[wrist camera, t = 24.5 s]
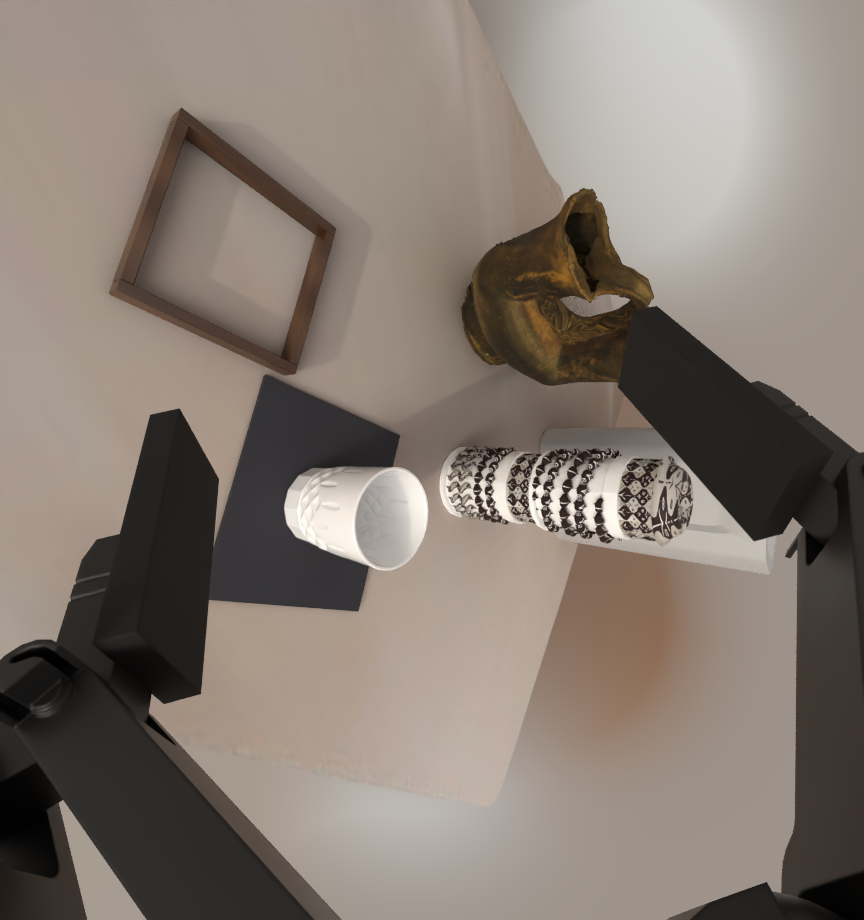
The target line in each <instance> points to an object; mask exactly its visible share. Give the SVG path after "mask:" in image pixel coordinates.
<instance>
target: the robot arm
mask: <svg viewBox="0 0 864 920" xmlns="http://www.w3.org/2000/svg"><path fill="white" fill-rule="evenodd" d="M618 388H619V389H620V390H621V391H622V392H623V393H624V395H625V396H626V397H627V398H628V399H629V400H630V401H631V402H632V403H633V405H634V406H635V407H636V408H637V409H638V410H639V411H640V413H641V414H642V415H643V416H644V417H645V418H646V420H647V421H648V422H649V423H650V424H651V425H652V426H653V427H654V429H655V430H656V431H657V432H658V433H659V434H660V435H661V437H662V438H663V439H664V440H665V441H666V442H667V443H668V445H669V446H670V447H671V448H672V449H673V450H674V451H675V452H676V454H677V455H678V456H679V457H680V458H681V459H682V460H683V462H684V463H685V464H686V465H687V466H688V467H689V468H690V470H691V471H692V472H693V473H694V474H695V475H696V476H697V477H698V479H699V480H700V481H701V482H702V483H703V484H704V485H705V487H706V488H707V489H708V490H709V491H710V492H711V493H712V495H713V496H714V497H715V498H716V499H717V500H718V501H719V502H720V504H721V505H722V506H723V507H724V508H725V509H726V510H727V512H728V513H729V514H730V515H731V516H732V517H733V518H734V519H735V521H736V522H737V523H738V524H739V525H740V526H741V527H742V529H743V530H744V531H745V532H746V533H747V534H748V535H749V537H750V538H751V539H752V540H753V541H758V540H762V539H765V538H769V537H773V536H776V535H780V534H783V532H784V530H785V529H786V527H787V525H788V524H789V522H790V521H791V519H792V518H794V519H795V520H796V521H797V522H798V523H799V524H800V525H801V526H802V527H803V528H802V529H801V531H800V532H799V534H798V535H797V537H796V538H795V540H794V541H793V543H792V544H791V546H790V547H789V549H788V550H787V553H786V556H785V557H788V558H791V557H792V555H793V554H794V552H795V551H796V550H798V556H797V557H798V559H797V661H796V667H797V668H796V768H795V769H796V770H795V771H796V772H795V824H794V830H793V834H792V836H791V839H790V841H789V843H788V846H787V848H786V851H785V855H784V860H783V868H782V889H781V890H782V891H781V893H777V892H772V891H771V889H770V887H769V885H768V884H767V882H766V883H763V884H760V885H757V886H755V887H752V888H749V889H746V890H743V891H740V892H738V893H735V894H732V895H729V896H727V897H724V898H721V899H718V900H715V901H712V902H710V903H707V904H704V905H702V906H699V907H696V908H694V909H691V910H689V911H686V912H683V913H681V914H678V915H676V916H673V917H670V918H669V919H667V920H864V452H863V453H859V452H857V451H855V449H853V448H852V447H851V446H849V445H848V444H847V443H845V442H844V441H843V440H842V439H840V438H839V437H838V436H837V435H835V434H834V433H833V432H832V431H830V430H829V429H828V428H827V427H825V426H824V425H822V424H821V423H820V422H819V421H818V420H816V419H815V418H814V417H813V416H809V415H808V412H806V411H805V410H803V408H801V407H800V406H796V405H795V402H794V401H792V400H791V399H790V398H789V397H787V396H786V395H785V394H783V393H782V392H781V391H780V390H777V389H775V388H773V387H771V386H768V385H766V384H764V383H762V382H759V381H756V382H752V383H750V382H749V381H747V380H746V379H745V378H744V377H742V376H741V375H740V374H739V373H738V372H736V371H735V370H734V369H733V368H732V367H730V366H729V365H728V364H727V363H725V362H724V361H723V360H722V359H721V358H719V357H718V356H717V355H715V354H714V353H713V352H712V351H711V350H709V349H708V348H707V347H706V346H705V345H703V344H702V343H701V342H700V341H699V340H697V339H696V338H695V337H694V336H692V335H691V334H690V333H689V332H688V331H686V330H685V329H684V328H683V327H682V326H680V325H679V324H678V323H677V322H675V321H674V320H673V319H672V318H671V317H669V316H668V315H667V314H666V313H664V312H663V311H662V310H661V309H660V308H658V307H657V306H655V307H650V308H645V309H641V310H636V311H633V313H632V318H631V323H630V328H629V333H628V338H627V343H626V348H625V353H624V358H623V363H622V368H621V373H620V378H619V383H618ZM218 484H219V478H218V477H217V475H216V473H215V471H214V469H213V468H212V466H211V464H210V462H209V460H208V459H207V457H206V455H205V453H204V451H203V450H202V448H201V446H200V444H199V442H198V441H197V439H196V437H195V435H194V433H193V432H192V430H191V428H190V426H189V424H188V423H187V421H186V419H185V417H184V416H183V414H182V412H181V410H180V409H175V410H171V411H166V412H161V413H157V414H152V415H150V418H149V422H148V426H147V430H146V434H145V438H144V441H143V445H142V449H141V453H140V457H139V461H138V465H137V469H136V473H135V477H134V481H133V485H132V489H131V492H130V496H129V500H128V504H127V508H126V512H125V516H124V520H123V524H122V528H121V532H120V534H118V535H114V536H110V537H106V538H102V539H97V540H96V541H95V543H94V544H93V546H92V547H91V548H90V550H89V551H88V552H87V554H86V555H85V556H84V558H83V559H82V561H81V564H80V567H79V571H78V574H77V577H76V580H75V581H76V584H75V585H74V587H73V590H72V593H71V597H70V598H71V601H70V602H69V603H68V606H67V609H66V613H65V616H64V619H63V622H62V626H61V629H60V632H59V635H58V639H57V642H54V641H53V640H35V641H32V642H29V643H26V644H23V645H21V646H19V647H18V648H16V649H15V650H13V651H11V652H10V653H8V654H7V655H5V656H4V657H3V658H2V659H1V660H0V920H87V917H86V913H85V909H84V905H83V901H82V897H81V893H80V888H79V884H78V880H77V876H76V873H75V868H74V864H73V860H72V856H71V852H70V848H69V844H68V839H67V835H66V832H65V827H64V823H63V819H62V815H61V811H60V807H59V802H60V801H62V800H64V802H65V803H66V804H67V806H68V807H69V809H70V810H71V811H72V813H73V814H74V816H75V817H76V819H77V820H78V822H79V823H80V824H81V826H82V827H83V829H84V830H85V831H86V833H87V835H88V836H89V837H90V839H91V840H92V842H93V843H94V845H95V846H96V848H97V849H98V850H99V852H100V853H101V855H102V856H103V857H104V859H105V860H106V862H107V863H108V865H109V866H110V867H111V869H112V870H113V872H114V873H115V875H116V876H117V878H118V879H119V880H120V882H121V883H122V885H123V886H124V888H125V889H126V891H127V892H128V893H129V895H130V896H131V898H132V899H133V901H134V902H135V903H136V905H137V906H138V908H139V909H140V911H141V912H142V914H143V915H144V916H145V918H146V919H147V920H341V919H340V917H339V916H338V915H337V914H336V913H335V912H334V911H333V910H332V909H331V908H330V907H329V906H328V904H327V903H326V902H325V901H324V900H323V899H322V898H321V897H320V896H319V895H318V894H317V893H316V892H315V891H314V889H313V888H312V887H311V886H310V885H309V884H308V883H307V882H306V881H305V880H304V879H303V877H302V876H301V875H300V874H299V873H298V872H297V871H296V870H295V869H294V868H293V867H292V866H291V865H290V863H289V862H288V861H287V860H286V859H285V858H284V857H283V856H282V855H281V854H280V853H279V852H278V851H277V850H276V848H275V847H274V846H273V845H272V844H271V843H270V842H269V841H268V840H267V839H266V838H265V836H263V834H262V833H261V832H260V831H259V830H258V829H257V828H256V827H255V826H254V825H253V823H251V821H250V820H249V819H248V818H247V817H246V816H245V815H244V814H243V813H242V812H241V811H240V810H239V808H238V807H237V806H236V805H235V804H234V803H233V802H232V801H231V800H230V799H229V798H228V796H227V795H226V794H225V793H224V792H223V791H222V790H221V789H220V788H219V787H218V786H217V785H216V784H215V782H214V781H213V780H212V779H211V778H210V777H209V776H208V775H207V774H206V773H205V772H204V771H203V769H202V768H201V767H200V766H199V765H198V764H197V763H196V762H195V761H194V760H193V759H192V758H191V757H190V755H188V753H187V752H186V751H185V750H184V749H183V748H182V747H181V746H180V745H179V744H178V742H177V741H176V740H175V739H174V738H173V737H172V736H171V735H170V734H169V733H168V732H167V731H166V730H165V728H164V727H163V726H162V725H161V724H160V723H159V722H158V721H157V720H156V719H155V718H154V717H153V716H152V715H151V714H149V707H150V700H151V694H153V695H154V696H155V697H156V698H157V699H159V700H160V701H161V702H162V703H163V704H166V703H170V702H173V701H177V700H181V699H184V698H188V697H191V696H195V695H199V694H201V686H202V674H203V662H204V651H205V639H206V627H207V615H208V603H209V591H210V579H211V567H212V555H213V543H214V532H215V520H216V508H217V496H218Z"/></svg>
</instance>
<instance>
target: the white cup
mask: <svg viewBox="0 0 864 920" xmlns="http://www.w3.org/2000/svg"><path fill="white" fill-rule="evenodd" d="M284 511H285V517H286V523H287V525H288V527H289V528H290V530H291V531H292V532H293V534H294V535H295V537H297V538H299V539H301V540H303V541H305V542H308V543H310V544H313V545H316V546H318V547H319V548H320V549H323V550H326V551H328V552H330V553H333V554H336V555H338V556H341V557H344V558H347V559H350V560H353V561H355V562H358V563H361V564H364V565H367V566H369V567H372V568H375V569H378V570H383V571H388V570H393V569H396V568H399V567H401V566H402V565H404V564H405V563H407V562H408V561H409V560H410V559H411V558H412V557H413V556H414V554H415V553H416V552H417V550H418V549H419V547H420V545H421V543H422V541H423V538H424V536H425V532H426V529H427V523H428V501H427V497H426V493H425V490H424V488H423V486H422V484H421V482H420V481H419V479H418V478H417V477H416V476H415V475H414V474H413V473H412V472H410V471H408V470H407V469H404V468H400V467H355V466H347V467H335V468H311V469H310V470H308V471H306V472H304V473H302V474H300V475H299V476H298V477H297V478H296V479H295V481H294V482H293V484H292V485H291V486H290V488H289V489H288V492H287V496H286V500H285V504H284Z"/></svg>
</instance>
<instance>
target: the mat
mask: <svg viewBox="0 0 864 920" xmlns="http://www.w3.org/2000/svg"><path fill="white" fill-rule="evenodd" d="M399 438H400V435H398V434H395V433H393V432H391V431H389V430H387V429H384V428H382V427H380V426H378V425H375V424H373V423H371V422H369V421H367V420H364V419H362V418H360V417H358V416H355V415H353V414H351V413H349V412H347V411H344V410H342V409H340V408H338V407H335V406H333V405H331V404H329V403H327V402H324V401H322V400H320V399H318V398H315V397H313V396H311V395H309V394H307V393H304V392H302V391H300V390H298V389H295V388H293V387H291V386H289V385H287V384H284V383H282V382H280V381H278V380H276V379H273V378H271V377H269V376H267V375H264V377H263V381H262V384H261V388H260V391H259V395H258V398H257V401H256V405H255V408H254V412H253V415H252V419H251V422H250V425H249V429H248V432H247V436H246V439H245V443H244V446H243V449H242V453H241V456H240V460H239V463H238V467H237V470H236V473H235V477H234V480H233V484H232V487H231V491H230V494H229V497H228V501H227V504H226V508H225V511H224V515H223V518H222V521H221V525H220V528H219V532H218V535H217V539H216V542H215V545H214V549H213V555H212V567H211V579H210V591H209V600H219V601H232V602H245V603H258V604H270V605H283V606H296V607H309V608H322V609H335V610H348V611H358V610H359V606H360V602H361V597H362V593H363V589H364V585H365V581H366V576H367V572H368V568H369V566H367V565H364V564H361V563H358V562H355V561H353V560H350V559H347V558H344V557H341V556H338V555H336V554H333V553H330V552H328V551H326V550H323V549H320V548H319V547H318V546H316V545H313V544H310V543H308V542H305V541H303V540H301V539H299V538H297V537H295V535H294V534H293V532H292V531H291V530H290V528H289V527H288V525H287V523H286V517H285V511H284V504H285V500H286V496H287V492H288V489H289V488H290V486H291V485H292V484H293V482H294V481H295V479H296V478H297V477H298V476H299V475H300V474H302V473H304V472H306V471H308V470H310V469H311V468H335V467H347V466H355V467H393V463H394V459H395V454H396V450H397V446H398V442H399Z"/></svg>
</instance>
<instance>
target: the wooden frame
mask: <svg viewBox="0 0 864 920" xmlns="http://www.w3.org/2000/svg"><path fill="white" fill-rule="evenodd" d="M184 139H187V140H188V141H189V142H191V143H192V144H194V145H195V146H196V147H198V148H199V149H200V150H202V151H203V152H204V153H206V154H207V155H208V156H210V157H211V158H212V159H214V160H215V161H217V162H218V163H219V164H221V165H222V166H223V167H225V168H226V169H227V170H229V171H230V172H231V173H233V174H234V175H235V176H237V177H238V178H240V179H241V180H242V181H244V182H245V183H246V184H248V185H249V186H250V187H252V188H253V189H254V190H256V191H257V192H258V193H260V194H261V195H263V196H264V197H265V198H267V199H268V200H269V201H271V202H272V203H273V204H275V205H276V206H277V207H279V208H280V209H281V210H283V211H284V212H286V213H287V214H288V215H290V216H291V217H292V218H294V219H295V220H296V221H298V222H299V223H300V224H302V225H303V226H304V227H306V228H307V229H309V230H310V231H311V232H313V233H314V234H315V235H317V236H316V238H315V242H314V245H313V249H312V252H311V256H310V259H309V263H308V266H307V270H306V273H305V276H304V280H303V283H302V287H301V290H300V294H299V297H298V301H297V304H296V308H295V311H294V315H293V318H292V322H291V325H290V329H289V332H288V336H287V339H286V343H285V346H284V350H283V353H282V357H279V356H277V355H275V354H273V353H271V352H269V351H267V350H265V349H263V348H260V347H258V346H256V345H254V344H252V343H250V342H248V341H246V340H244V339H242V338H240V337H238V336H236V335H234V334H232V333H230V332H228V331H226V330H224V329H222V328H220V327H218V326H216V325H214V324H212V323H210V322H208V321H206V320H203V319H201V318H199V317H197V316H195V315H193V314H191V313H189V312H187V311H185V310H183V309H181V308H179V307H177V306H175V305H173V304H171V303H169V302H167V301H165V300H163V299H161V298H159V297H157V296H155V295H153V294H151V293H149V292H146V291H144V290H142V289H140V288H138V287H136V286H134V285H133V284H134V282H135V279H136V276H137V273H138V271H139V268H140V265H141V262H142V259H143V256H144V253H145V251H146V248H147V245H148V242H149V239H150V236H151V233H152V231H153V228H154V225H155V222H156V219H157V216H158V213H159V211H160V208H161V205H162V202H163V199H164V196H165V193H166V191H167V188H168V185H169V182H170V179H171V176H172V173H173V171H174V168H175V165H176V162H177V159H178V156H179V153H180V151H181V148H182V145H183V142H184ZM335 231H336V228H335V227H334V226H333V225H331V224H330V223H329V222H328V221H326V220H325V219H324V218H322V217H321V216H320V215H319V214H317V213H316V212H315V211H313V210H312V209H311V208H310V207H308V206H307V205H306V204H304V203H303V202H302V201H301V200H299V199H298V198H297V197H295V196H294V195H293V194H292V193H290V192H289V191H288V190H286V189H285V188H284V187H283V186H281V185H280V184H279V183H278V182H276V181H275V180H274V179H272V178H271V177H270V176H269V175H267V174H266V173H265V172H263V171H262V170H261V169H260V168H258V167H257V166H256V165H254V164H253V163H252V162H251V161H249V160H248V159H247V158H245V157H244V156H243V155H242V154H240V153H239V152H238V151H236V150H235V149H234V148H233V147H231V146H230V145H229V144H227V143H226V142H225V141H224V140H222V139H221V138H220V137H218V136H217V135H216V134H215V133H213V132H212V131H211V130H209V129H208V128H207V127H206V126H204V125H203V124H202V123H200V122H199V121H198V120H197V119H195V118H194V117H193V116H191V115H190V114H189V113H188V112H186V111H185V110H184V109H182V108H180V109H179V110H178V111H177V112H176V113H175V114H174V115H173V116H172V118H171V121H170V124H169V127H168V129H167V132H166V135H165V138H164V141H163V143H162V146H161V149H160V152H159V154H158V157H157V160H156V163H155V166H154V168H153V171H152V174H151V177H150V180H149V182H148V185H147V188H146V191H145V194H144V196H143V199H142V202H141V205H140V208H139V210H138V213H137V216H136V219H135V222H134V224H133V227H132V230H131V233H130V235H129V238H128V241H127V244H126V247H125V249H124V252H123V255H122V258H121V261H120V263H119V266H118V269H117V272H116V275H115V277H114V280H113V284H112V286H111V289H110V292H109V294H110V295H113V296H115V297H117V298H119V299H121V300H123V301H125V302H128V303H130V304H132V305H134V306H136V307H138V308H141V309H143V310H145V311H147V312H149V313H151V314H153V315H156V316H158V317H160V318H162V319H164V320H166V321H169V322H171V323H173V324H175V325H177V326H179V327H181V328H184V329H186V330H188V331H190V332H192V333H194V334H197V335H199V336H201V337H203V338H205V339H207V340H209V341H212V342H214V343H216V344H218V345H220V346H222V347H225V348H227V349H229V350H231V351H233V352H235V353H237V354H240V355H242V356H244V357H246V358H248V359H250V360H253V361H255V362H257V363H259V364H261V365H263V366H265V367H268V368H270V369H272V370H274V371H276V372H278V373H281V374H283V375H293V374H295V373H296V370H297V365H298V363H299V360H300V356H301V353H302V349H303V345H304V342H305V338H306V335H307V331H308V328H309V324H310V320H311V317H312V313H313V310H314V306H315V303H316V299H317V295H318V292H319V288H320V285H321V281H322V278H323V274H324V271H325V267H326V263H327V260H328V256H329V253H330V249H331V246H332V242H333V238H334V235H335Z"/></svg>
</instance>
